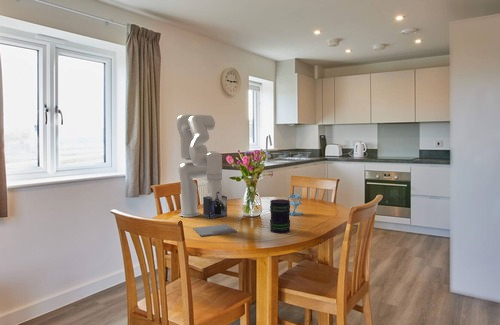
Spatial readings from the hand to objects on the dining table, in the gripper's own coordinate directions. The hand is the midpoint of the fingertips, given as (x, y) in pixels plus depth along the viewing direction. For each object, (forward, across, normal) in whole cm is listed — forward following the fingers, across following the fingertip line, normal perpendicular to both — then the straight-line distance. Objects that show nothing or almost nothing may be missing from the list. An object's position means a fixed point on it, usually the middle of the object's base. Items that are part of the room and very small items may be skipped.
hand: (215, 212), depth 179 cm
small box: (+3, 0, 0) cm, 3 cm away
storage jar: (+10, +14, +29) cm, 34 cm away
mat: (+9, 0, 0) cm, 9 cm away
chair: (+9, -15, +54) cm, 57 cm away
